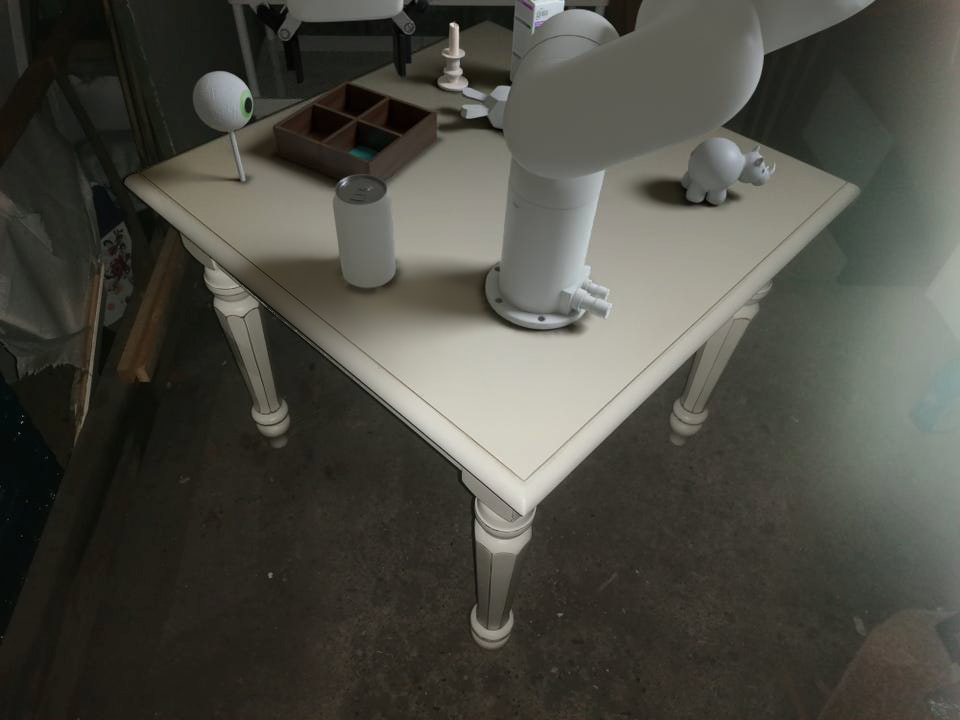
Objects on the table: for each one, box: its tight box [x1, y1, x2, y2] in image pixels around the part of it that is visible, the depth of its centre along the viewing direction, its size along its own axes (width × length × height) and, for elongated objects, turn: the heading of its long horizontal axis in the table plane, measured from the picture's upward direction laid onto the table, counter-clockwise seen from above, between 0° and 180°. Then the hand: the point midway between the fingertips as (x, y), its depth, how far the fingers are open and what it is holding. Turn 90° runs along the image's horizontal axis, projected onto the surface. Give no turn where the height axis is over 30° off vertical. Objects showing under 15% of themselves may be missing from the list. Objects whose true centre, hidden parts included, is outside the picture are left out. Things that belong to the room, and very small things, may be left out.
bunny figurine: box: [460, 85, 511, 130], centre depth 105 cm, size 10×5×15 cm
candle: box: [437, 20, 469, 92], centre depth 110 cm, size 5×5×10 cm
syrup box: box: [509, 0, 565, 83], centre depth 110 cm, size 6×6×14 cm
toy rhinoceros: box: [680, 136, 776, 206], centre depth 93 cm, size 7×12×8 cm, turn 86°
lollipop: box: [192, 70, 254, 182], centre depth 87 cm, size 7×7×15 cm
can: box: [332, 174, 397, 289], centre depth 77 cm, size 6×6×12 cm
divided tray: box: [271, 80, 438, 183], centre depth 98 cm, size 17×17×4 cm
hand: (350, 73), depth 64 cm, fingers open, 9 cm apart
